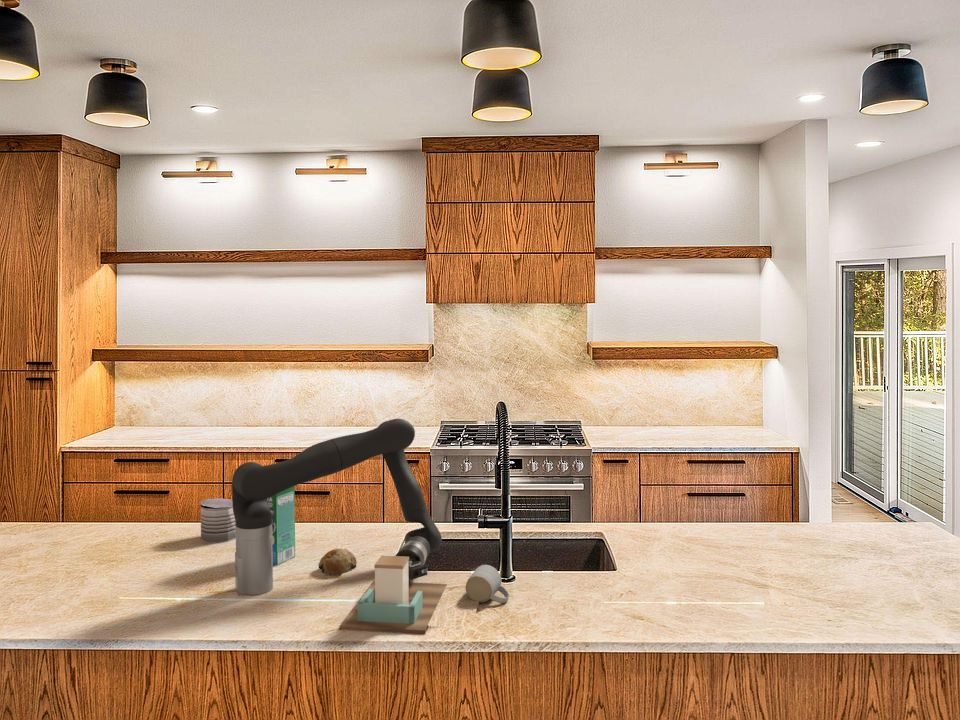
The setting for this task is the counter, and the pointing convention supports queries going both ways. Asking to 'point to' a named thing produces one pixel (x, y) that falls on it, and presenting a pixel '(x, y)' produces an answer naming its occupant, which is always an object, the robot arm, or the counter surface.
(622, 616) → the counter surface
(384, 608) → the dock
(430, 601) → the board
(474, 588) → the ceramic mug
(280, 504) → the milk carton
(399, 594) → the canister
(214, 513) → the can
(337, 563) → the bread roll
